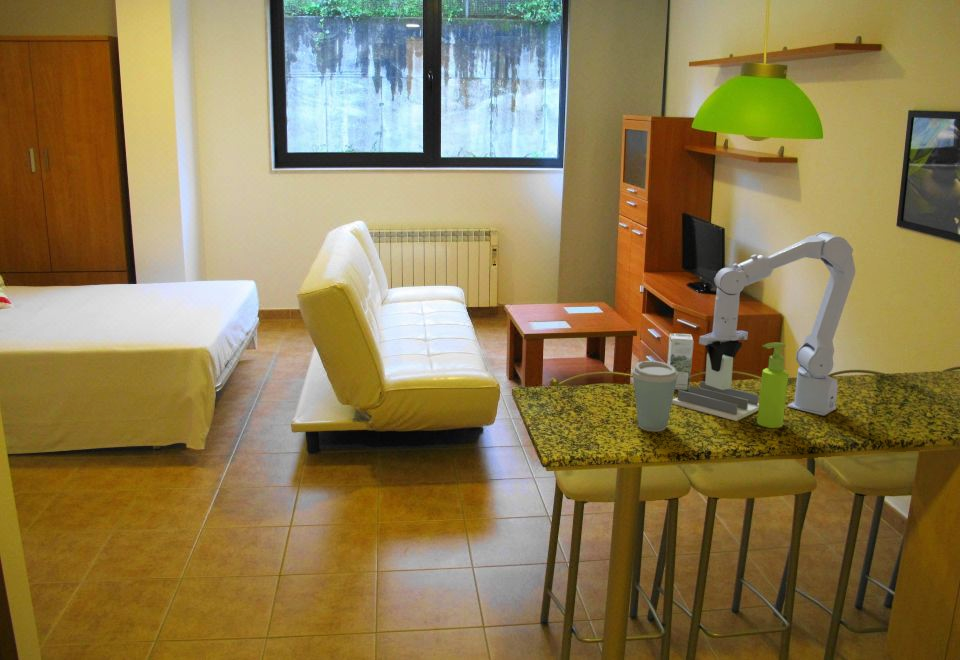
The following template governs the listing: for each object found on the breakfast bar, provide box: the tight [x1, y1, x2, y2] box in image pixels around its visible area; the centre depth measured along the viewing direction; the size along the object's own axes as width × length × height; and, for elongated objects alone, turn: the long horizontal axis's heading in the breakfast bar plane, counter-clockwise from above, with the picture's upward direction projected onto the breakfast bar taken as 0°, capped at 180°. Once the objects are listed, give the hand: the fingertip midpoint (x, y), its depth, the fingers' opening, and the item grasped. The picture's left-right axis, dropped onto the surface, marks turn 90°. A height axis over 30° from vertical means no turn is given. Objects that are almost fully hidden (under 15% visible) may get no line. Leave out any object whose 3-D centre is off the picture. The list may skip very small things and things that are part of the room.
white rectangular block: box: [704, 353, 734, 390], centre depth 226 cm, size 6×3×8 cm, turn 30°
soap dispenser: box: [756, 341, 790, 429], centre depth 212 cm, size 6×7×20 cm
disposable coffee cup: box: [631, 360, 678, 433], centre depth 209 cm, size 11×11×15 cm
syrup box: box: [666, 333, 694, 392], centre depth 239 cm, size 6×6×14 cm
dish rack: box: [672, 380, 760, 422], centre depth 227 cm, size 18×14×4 cm
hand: (720, 369), depth 225 cm, fingers closed on white rectangular block, 3 cm apart
